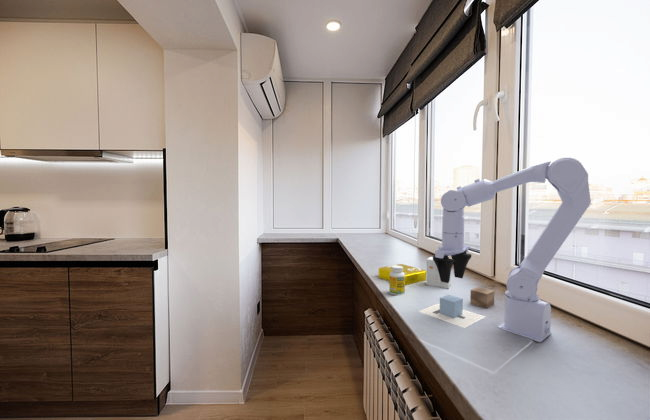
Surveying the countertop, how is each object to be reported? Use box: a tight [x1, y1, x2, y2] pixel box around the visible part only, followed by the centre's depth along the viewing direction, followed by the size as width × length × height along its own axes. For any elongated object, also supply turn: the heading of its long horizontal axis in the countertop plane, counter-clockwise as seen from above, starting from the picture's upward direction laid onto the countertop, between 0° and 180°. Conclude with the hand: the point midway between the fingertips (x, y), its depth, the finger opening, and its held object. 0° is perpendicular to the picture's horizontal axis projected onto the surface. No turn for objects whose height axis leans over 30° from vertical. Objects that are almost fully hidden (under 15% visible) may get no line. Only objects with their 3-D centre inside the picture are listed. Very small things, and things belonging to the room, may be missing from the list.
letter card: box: [418, 302, 486, 329], centre depth 85 cm, size 14×12×1 cm
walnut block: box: [469, 286, 495, 309], centre depth 93 cm, size 5×5×5 cm
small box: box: [426, 256, 452, 290], centre depth 113 cm, size 8×6×10 cm
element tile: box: [378, 263, 427, 286], centre depth 124 cm, size 15×15×5 cm
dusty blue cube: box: [439, 294, 464, 318], centre depth 85 cm, size 4×4×4 cm
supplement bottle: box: [388, 266, 406, 296], centre depth 104 cm, size 5×5×10 cm
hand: (451, 279), depth 85 cm, fingers open, 7 cm apart
